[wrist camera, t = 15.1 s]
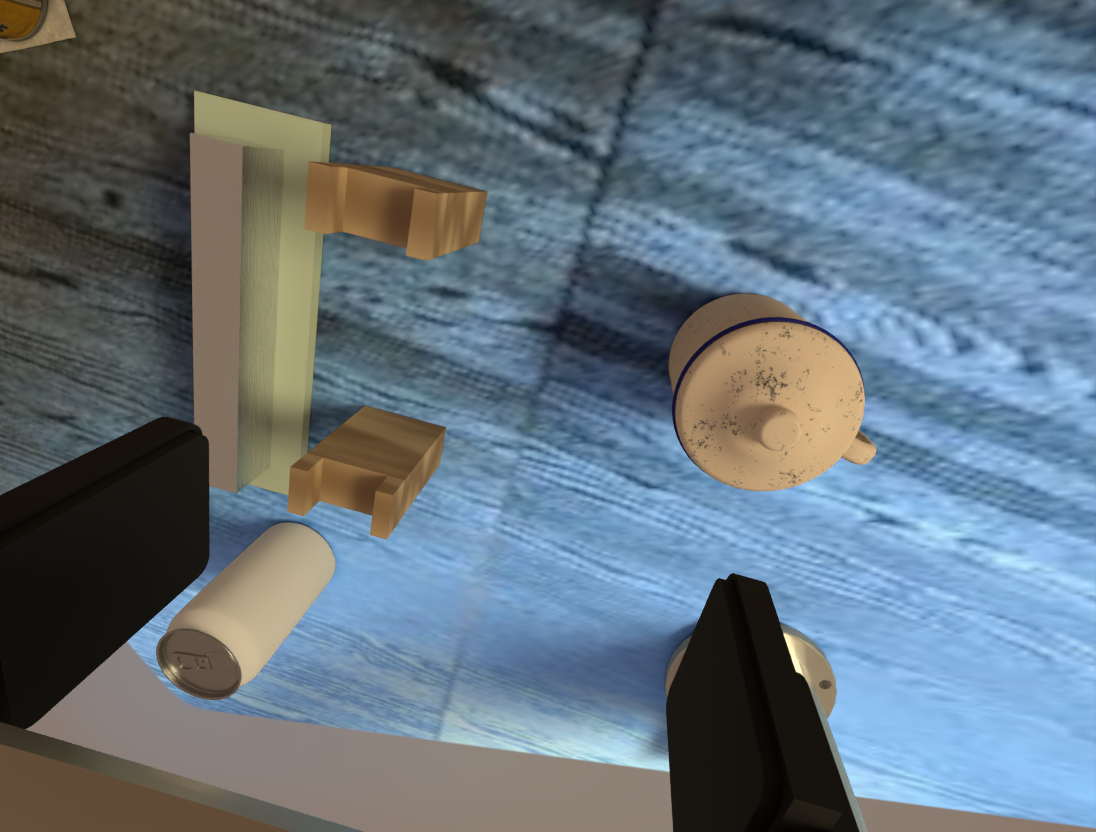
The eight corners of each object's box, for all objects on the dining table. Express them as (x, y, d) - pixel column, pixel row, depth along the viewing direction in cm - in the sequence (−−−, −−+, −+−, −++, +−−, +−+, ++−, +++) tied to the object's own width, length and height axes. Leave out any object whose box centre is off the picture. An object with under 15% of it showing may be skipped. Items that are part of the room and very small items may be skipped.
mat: (304, 491, 45) (297, 497, 44) (206, 464, 45) (198, 469, 44) (331, 124, 35) (323, 123, 34) (205, 93, 35) (194, 90, 34)
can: (345, 587, 48) (258, 707, 37) (274, 586, 49) (168, 703, 38) (328, 518, 46) (230, 625, 35) (253, 519, 47) (134, 623, 36)
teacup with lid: (637, 385, 38) (638, 463, 27) (717, 260, 35) (754, 293, 24) (793, 472, 39) (854, 581, 28) (887, 358, 35) (996, 433, 25)
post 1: (478, 242, 36) (426, 260, 27) (386, 218, 36) (304, 228, 27) (487, 191, 35) (436, 193, 26) (392, 167, 35) (308, 161, 26)
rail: (270, 467, 43) (236, 493, 40) (232, 456, 43) (195, 481, 40) (284, 149, 35) (242, 145, 31) (236, 138, 35) (189, 132, 31)
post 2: (439, 464, 42) (386, 539, 33) (361, 442, 43) (287, 511, 34) (445, 427, 41) (392, 495, 32) (365, 405, 41) (290, 466, 32)
